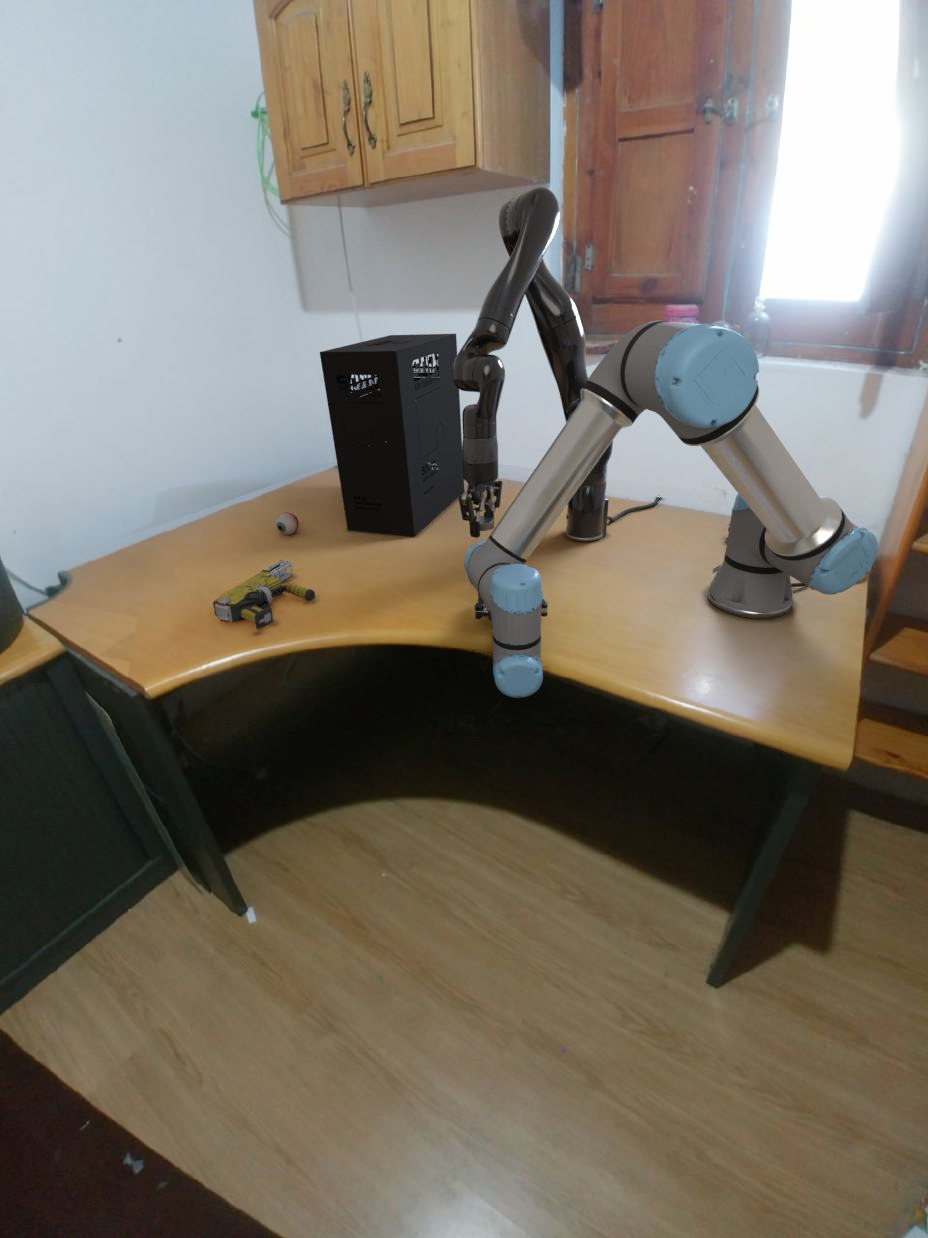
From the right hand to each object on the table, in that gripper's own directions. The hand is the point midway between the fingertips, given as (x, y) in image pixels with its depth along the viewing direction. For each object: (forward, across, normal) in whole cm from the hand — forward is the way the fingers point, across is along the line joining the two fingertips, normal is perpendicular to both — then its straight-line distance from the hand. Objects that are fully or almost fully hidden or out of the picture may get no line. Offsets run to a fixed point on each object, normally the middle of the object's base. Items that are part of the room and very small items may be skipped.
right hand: (506, 571), depth 124 cm
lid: (+14, -5, +6) cm, 16 cm away
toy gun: (+2, -49, -6) cm, 50 cm away
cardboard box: (+57, -26, -6) cm, 63 cm away
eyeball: (+41, -58, -6) cm, 71 cm away
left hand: (+14, -5, +3) cm, 15 cm away
